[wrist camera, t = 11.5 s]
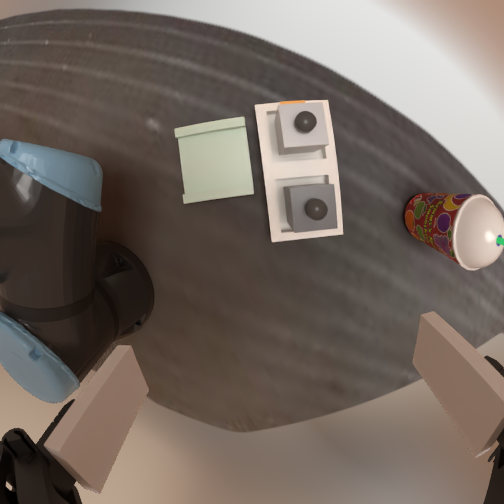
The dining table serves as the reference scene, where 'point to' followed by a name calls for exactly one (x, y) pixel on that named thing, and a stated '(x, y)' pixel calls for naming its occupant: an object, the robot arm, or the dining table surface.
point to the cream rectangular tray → (299, 182)
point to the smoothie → (458, 227)
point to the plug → (300, 128)
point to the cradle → (215, 160)
